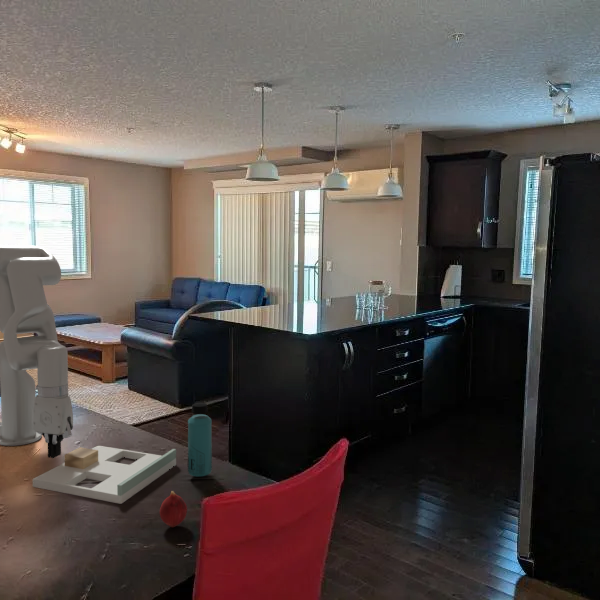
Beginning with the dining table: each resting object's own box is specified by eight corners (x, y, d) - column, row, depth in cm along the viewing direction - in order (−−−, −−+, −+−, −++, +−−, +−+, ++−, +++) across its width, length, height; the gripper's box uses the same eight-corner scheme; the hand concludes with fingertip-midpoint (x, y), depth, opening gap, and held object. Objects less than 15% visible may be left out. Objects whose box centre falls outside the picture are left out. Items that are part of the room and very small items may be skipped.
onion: (191, 523, 122) (192, 488, 121) (177, 535, 116) (178, 499, 116) (169, 518, 124) (169, 484, 123) (154, 530, 118) (154, 495, 117)
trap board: (32, 486, 138) (32, 469, 137) (98, 452, 161) (97, 437, 161) (121, 503, 130) (121, 485, 129) (176, 464, 154) (176, 449, 153)
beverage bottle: (216, 475, 147) (217, 402, 145) (202, 484, 141) (203, 408, 139) (196, 470, 150) (197, 398, 148) (181, 479, 144) (182, 405, 142)
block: (64, 465, 146) (64, 454, 146) (80, 457, 152) (79, 447, 151) (83, 469, 144) (83, 458, 144) (98, 460, 150) (98, 450, 150)
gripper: (20, 391, 148) (22, 457, 149) (66, 397, 143) (67, 465, 145) (41, 384, 155) (42, 447, 156) (85, 390, 150) (86, 455, 152)
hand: (54, 456), depth 151 cm, fingers closed
